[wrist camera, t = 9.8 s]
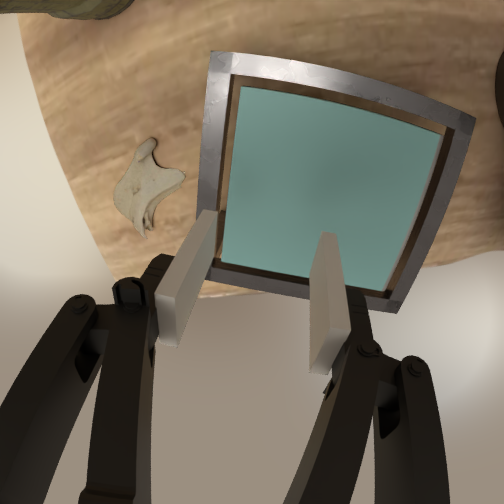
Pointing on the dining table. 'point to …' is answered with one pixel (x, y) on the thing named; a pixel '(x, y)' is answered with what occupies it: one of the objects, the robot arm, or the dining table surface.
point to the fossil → (145, 187)
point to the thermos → (67, 8)
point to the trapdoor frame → (349, 83)
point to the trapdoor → (323, 185)
